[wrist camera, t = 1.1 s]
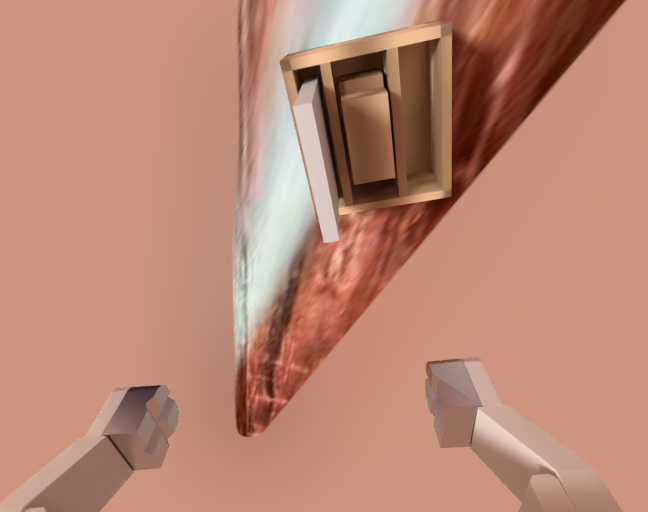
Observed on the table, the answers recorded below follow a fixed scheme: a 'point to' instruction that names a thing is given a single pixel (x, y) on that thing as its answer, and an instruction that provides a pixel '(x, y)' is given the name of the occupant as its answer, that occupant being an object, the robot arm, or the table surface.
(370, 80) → the offcut low
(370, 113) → the offcut top
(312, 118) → the sheet
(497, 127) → the table surface
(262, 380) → the table surface
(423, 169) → the rack
